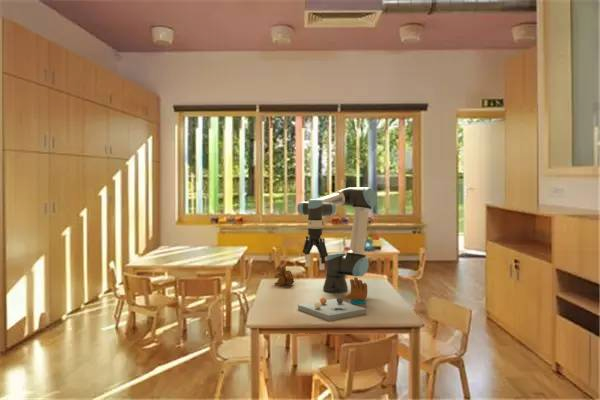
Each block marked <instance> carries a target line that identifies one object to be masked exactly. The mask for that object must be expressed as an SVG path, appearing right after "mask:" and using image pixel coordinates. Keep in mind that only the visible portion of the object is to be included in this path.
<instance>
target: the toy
mask: <svg viewBox="0 0 600 400" xmlns="http://www.w3.org/2000/svg"><path fill="white" fill-rule="evenodd" d="M349 283H350V292H349V293H347V294H346V295H344V301H348V300H350V304H352V305H366V300H367V297H368V284H367V282H363V280H362V279H359V278H358V276H356V277H355V276H354V278H351V279H350V280H349Z"/></svg>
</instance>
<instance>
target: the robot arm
mask: <svg viewBox="0 0 600 400" xmlns="http://www.w3.org/2000/svg"><path fill="white" fill-rule="evenodd" d="M376 204H377V194H376V191H375V189H373V188H372V187H367V186H363V187H361V186H360V187H358V186H357V187H354V186H352V187H351V186H349V187H347V188H346V187H345V188H342V189H340V190H336V191H334V192H333V193H331V194H328V195H325V196H322V197H318V198H315V199H314V198H312V199H311V198H310V199H309V200H307V201H300V202H298V203H297V207H296V209H297V213H298V214H299V215H301V216H307V218H308V219H307V220H308V221H307V227H308V228H307V236H305V241H304V245H303V250H302V253H304V256H305V257H304V259H305V265H304V266H305V267H311V251H312V249H313V247H314V246H315V247H316V249H317V252H318V253H319V271H323V270H325V272H326V273H325V280H324V284H323V286H322V290H323V291H324V292H325V293H338V294H339V293H346V292H348V290H349V289H348V288H349V287H348V284H347V280H346V276H351V277H354V278H355V277H360V278H361V277H363V276H365V274H367V272H368V270H369V266H370V265H369V264H370V263H369V259H368V258H367V255H366V253H365V244H366V236H367V229H368V220H369V214H370V213H371V212H372V209H373V208H374V207H376ZM342 206H350V207H352V209H353V211H354V213H353V221H352V228H351V229H352V230H351V236H350V243H349V250H347V251H346V252H332V253H328V251H327V246H326V242H325V238H324V237H321V236H322V235H323V229H322V228H323V217H330V216H333V215H335V214H336V212H337V207H342Z"/></svg>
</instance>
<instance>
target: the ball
mask: <svg viewBox="0 0 600 400" xmlns="http://www.w3.org/2000/svg"><path fill="white" fill-rule="evenodd" d="M327 300H328V299H327V298H326V297H325V296H323V297H320V299H319V301H320V302H321V303H322V304H325V303H326V302H327Z"/></svg>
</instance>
